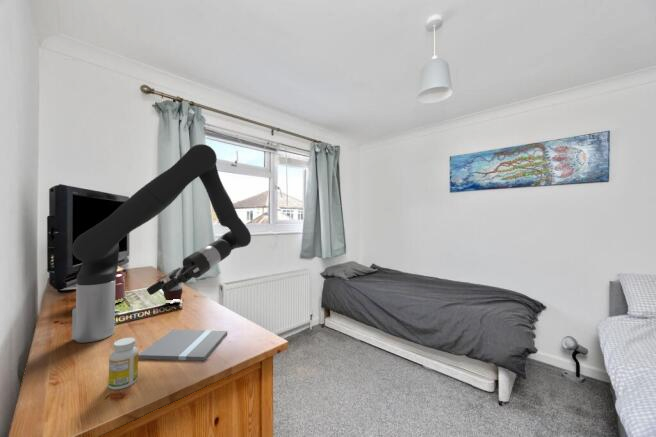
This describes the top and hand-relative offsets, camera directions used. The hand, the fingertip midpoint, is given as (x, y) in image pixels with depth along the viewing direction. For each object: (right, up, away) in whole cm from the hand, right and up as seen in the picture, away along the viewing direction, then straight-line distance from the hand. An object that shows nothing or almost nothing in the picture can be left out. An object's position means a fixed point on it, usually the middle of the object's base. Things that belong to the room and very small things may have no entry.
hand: (155, 291), depth 74 cm
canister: (-47, -16, +39) cm, 63 cm away
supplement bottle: (+1, -18, -13) cm, 22 cm away
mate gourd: (-19, -17, +41) cm, 48 cm away
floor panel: (+6, -18, +5) cm, 19 cm away
